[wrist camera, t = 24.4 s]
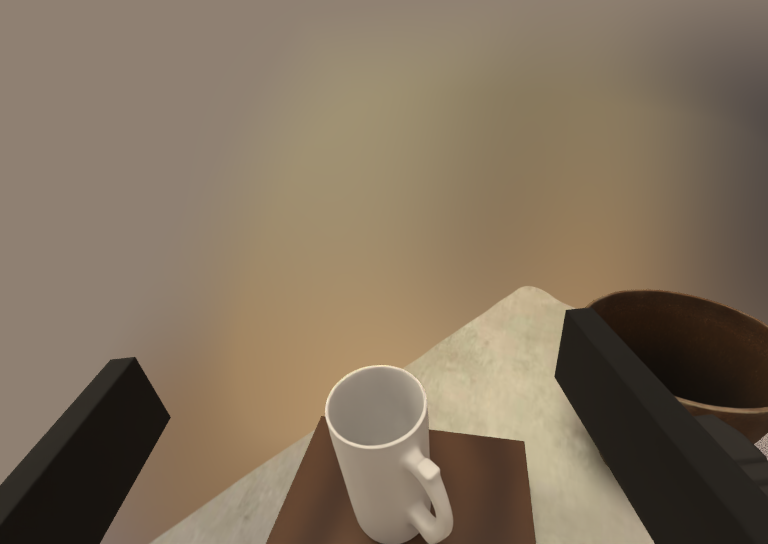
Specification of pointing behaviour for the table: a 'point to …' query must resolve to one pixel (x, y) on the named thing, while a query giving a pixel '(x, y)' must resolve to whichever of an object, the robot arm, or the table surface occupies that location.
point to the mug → (388, 455)
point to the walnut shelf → (464, 490)
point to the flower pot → (697, 352)
